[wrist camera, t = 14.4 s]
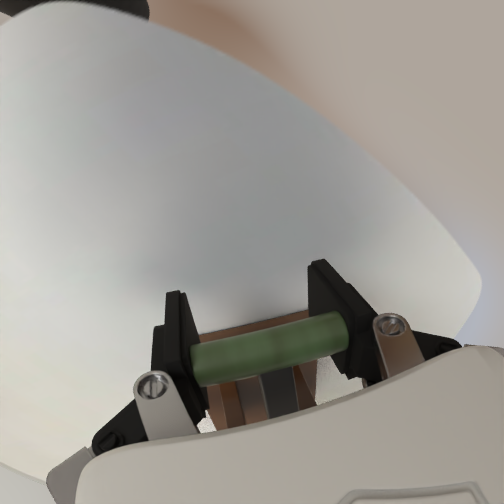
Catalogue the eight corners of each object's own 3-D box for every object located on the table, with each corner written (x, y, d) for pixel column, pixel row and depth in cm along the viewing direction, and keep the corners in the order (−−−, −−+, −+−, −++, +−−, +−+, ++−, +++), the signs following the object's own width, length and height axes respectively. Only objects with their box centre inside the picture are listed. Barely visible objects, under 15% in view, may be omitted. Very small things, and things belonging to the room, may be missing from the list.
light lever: (190, 333, 10) (187, 364, 8) (324, 301, 11) (355, 322, 8) (253, 512, 11) (261, 542, 9) (337, 488, 12) (352, 515, 10)
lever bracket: (180, 337, 16) (204, 542, 6) (311, 308, 17) (414, 477, 7) (215, 421, 21) (244, 551, 11) (309, 398, 22) (364, 517, 12)
